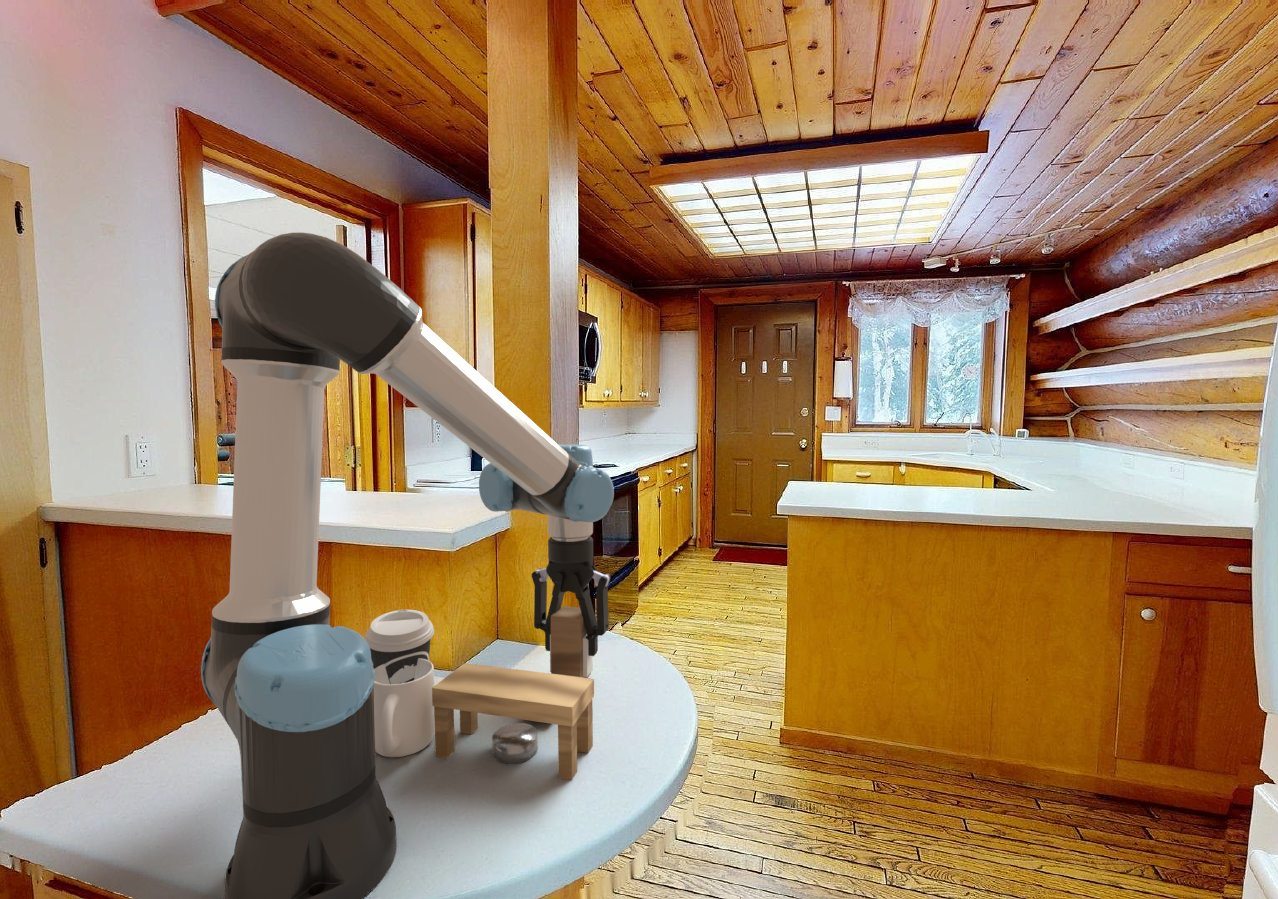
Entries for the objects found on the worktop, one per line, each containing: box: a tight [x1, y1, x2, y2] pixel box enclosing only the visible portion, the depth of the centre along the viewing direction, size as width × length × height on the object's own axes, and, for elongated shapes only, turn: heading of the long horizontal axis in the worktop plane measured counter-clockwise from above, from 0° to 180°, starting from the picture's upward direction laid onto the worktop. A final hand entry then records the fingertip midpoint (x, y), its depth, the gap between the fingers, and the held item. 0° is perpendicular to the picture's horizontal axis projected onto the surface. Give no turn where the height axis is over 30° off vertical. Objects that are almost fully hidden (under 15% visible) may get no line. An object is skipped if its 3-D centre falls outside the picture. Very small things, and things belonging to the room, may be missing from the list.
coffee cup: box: [364, 609, 435, 684], centre depth 88 cm, size 10×10×15 cm
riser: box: [432, 662, 595, 781], centre depth 80 cm, size 8×20×10 cm, turn 75°
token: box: [491, 722, 539, 765], centre depth 80 cm, size 6×6×2 cm
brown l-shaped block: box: [550, 605, 592, 678], centre depth 94 cm, size 17×5×12 cm, turn 165°
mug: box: [373, 658, 435, 758], centre depth 80 cm, size 12×8×10 cm
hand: (571, 671), depth 100 cm, fingers closed on brown l-shaped block, 5 cm apart
